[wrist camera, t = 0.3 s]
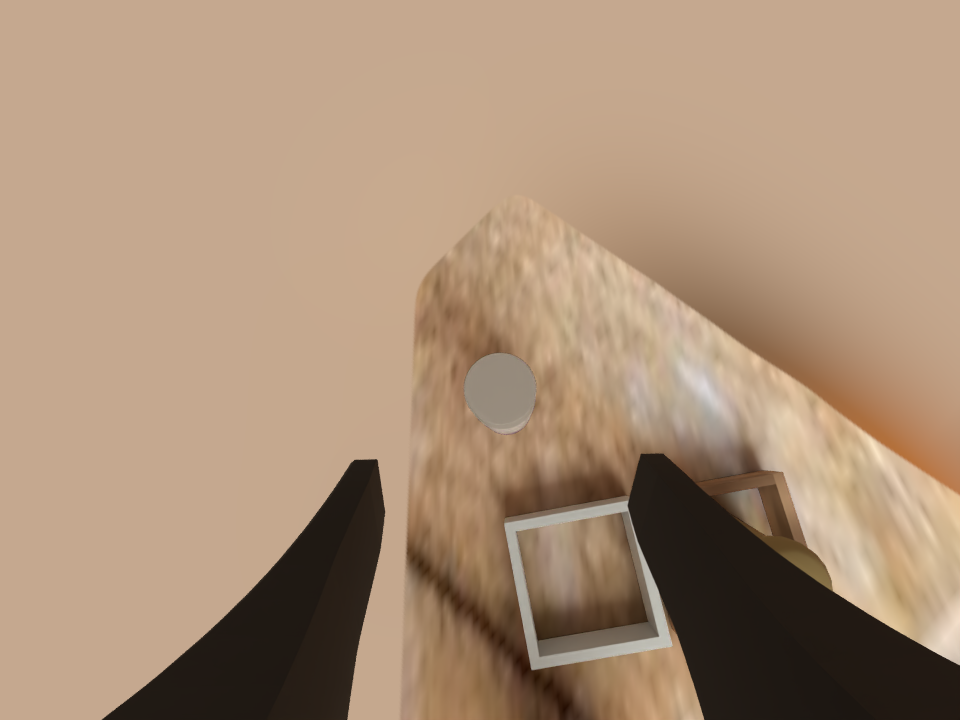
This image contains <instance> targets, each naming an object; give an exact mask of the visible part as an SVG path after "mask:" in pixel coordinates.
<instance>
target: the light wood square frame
mask: <svg viewBox="0 0 960 720" xmlns="http://www.w3.org/2000/svg"><path fill="white" fill-rule="evenodd" d="M696 484H697V485H698V486H699V487H700V488H701V489H702V490H703V491H704V492H706V493H707V494H708V495H709V496H713V495H719V494H724V493H730V492H735V491H741V490H746V489H752V488H757V487H758V489H759V492H760V495H761V498H762V502H763V505H764V508H765V511H766V514H767V518H768V521H769V524H770V527H771V530H772V534H773V536H782V537H786V538H789V539H791V540H794V541H797V542H800V543H801V544H803V545H804V546H806V547H807V544H806V541H805V538H804V535H803V532H802V529H801V526H800V523H799V520H798V517H797V514H796V511H795V508H794V505H793V502H792V499H791V496H790V493H789V489H788V486H787V483H786V480H785V477H784V474H783V472H776V471H764V470H762V471H756V472H751V473H745V474H740V475H735V476H729V477H724V478H718V479H713V480H708V481H702V482H697V483H696ZM668 615H669V614H668ZM669 619H670V623H671V627H672V629H673V630H674V631H675V628H674V626H673V623H672V621H671V618H670V616H669ZM675 633H676V631H675ZM676 634H677V633H676Z"/></svg>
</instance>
